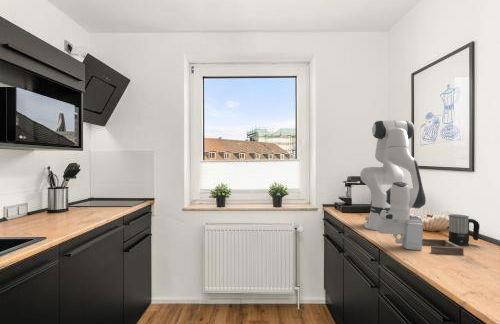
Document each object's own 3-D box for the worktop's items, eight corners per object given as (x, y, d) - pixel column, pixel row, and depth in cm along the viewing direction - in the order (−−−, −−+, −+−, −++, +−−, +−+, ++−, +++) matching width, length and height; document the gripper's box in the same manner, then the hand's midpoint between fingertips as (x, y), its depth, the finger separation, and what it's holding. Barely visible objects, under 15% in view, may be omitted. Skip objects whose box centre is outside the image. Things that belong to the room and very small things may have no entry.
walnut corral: (417, 244, 161) (418, 238, 161) (445, 245, 160) (445, 239, 160) (432, 253, 145) (432, 247, 145) (463, 254, 144) (463, 248, 144)
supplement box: (422, 250, 150) (423, 224, 150) (406, 249, 151) (407, 223, 151) (416, 246, 157) (417, 221, 157) (400, 245, 158) (402, 220, 158)
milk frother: (455, 245, 160) (456, 217, 160) (436, 238, 176) (436, 211, 175) (482, 246, 160) (483, 217, 160) (460, 238, 176) (461, 212, 176)
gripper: (419, 215, 156) (418, 242, 156) (376, 213, 159) (375, 240, 159) (424, 217, 150) (423, 245, 150) (380, 215, 153) (379, 243, 153)
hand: (398, 243), depth 155 cm, fingers closed
